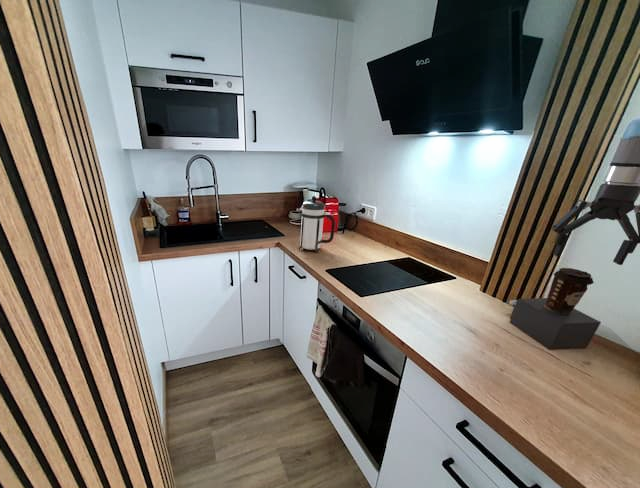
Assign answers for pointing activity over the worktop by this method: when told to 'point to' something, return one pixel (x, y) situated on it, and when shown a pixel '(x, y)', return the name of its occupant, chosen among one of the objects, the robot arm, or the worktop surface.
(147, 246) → the worktop surface
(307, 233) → the coffee press
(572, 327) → the dark grey low box
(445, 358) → the worktop surface
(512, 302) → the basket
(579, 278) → the coffee cup
